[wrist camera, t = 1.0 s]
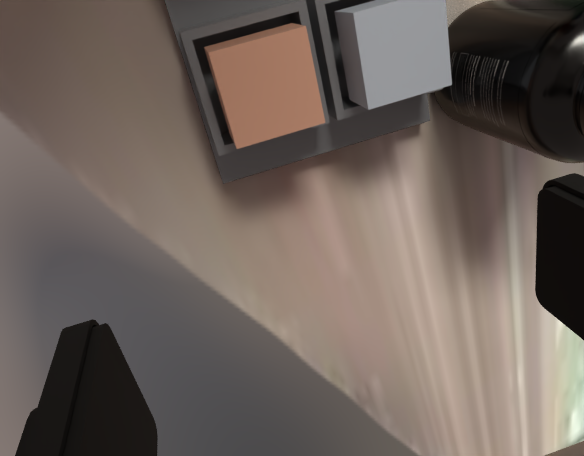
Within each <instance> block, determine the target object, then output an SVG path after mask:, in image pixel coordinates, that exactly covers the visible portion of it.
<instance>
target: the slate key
mask: <svg viewBox="0 0 584 456" xmlns="http://www.w3.org/2000/svg"><path fill="white" fill-rule="evenodd" d="M334 13H335V19H336V25H337V30H338V36H339V42H340V48H341V53H342V59H343V65H344V71H345V76H346V82H347V88H348V94H349V99H350V100H351V101H353V102H355V103H357V104H359V105H360V106H362V107H364V108H366V109H368V110H370V109H373V108H376V107H380V106H383V105H387V104H390V103H393V102H397V101H400V100H403V99H407V98H410V97H413V96H417V95H420V94H423V93H427V92H430V91H433V90H437V89H440V88H443V87H447V86H450V85H452V78H451V64H450V51H449V38H448V25H447V12H446V0H374V1H370V2H367V3H363V4H360V5H356V6H352V7H349V8H345V9H341V10H338V11H334Z"/></svg>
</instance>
